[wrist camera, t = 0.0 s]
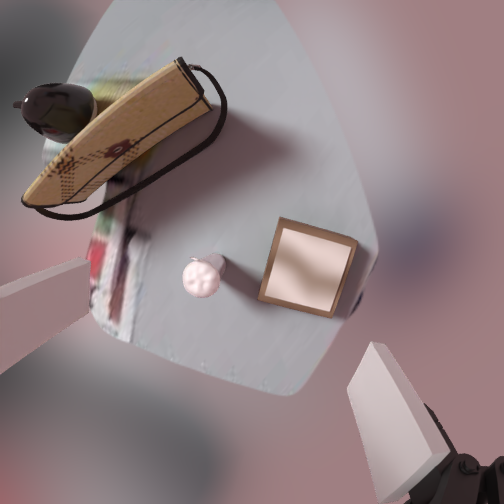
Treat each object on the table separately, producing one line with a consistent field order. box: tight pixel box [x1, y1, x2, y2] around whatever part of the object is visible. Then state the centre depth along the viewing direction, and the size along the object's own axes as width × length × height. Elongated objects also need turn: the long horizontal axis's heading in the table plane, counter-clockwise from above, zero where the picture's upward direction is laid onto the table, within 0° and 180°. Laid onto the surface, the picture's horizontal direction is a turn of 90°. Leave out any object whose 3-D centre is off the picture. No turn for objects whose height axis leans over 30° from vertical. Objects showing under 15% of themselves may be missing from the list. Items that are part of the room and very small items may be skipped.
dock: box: [257, 217, 358, 318], centre depth 36 cm, size 11×10×4 cm
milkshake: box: [183, 253, 226, 298], centre depth 35 cm, size 4×5×10 cm
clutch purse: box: [21, 57, 227, 221], centre depth 30 cm, size 30×7×15 cm, turn 119°
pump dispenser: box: [13, 83, 97, 144], centre depth 30 cm, size 10×10×15 cm
